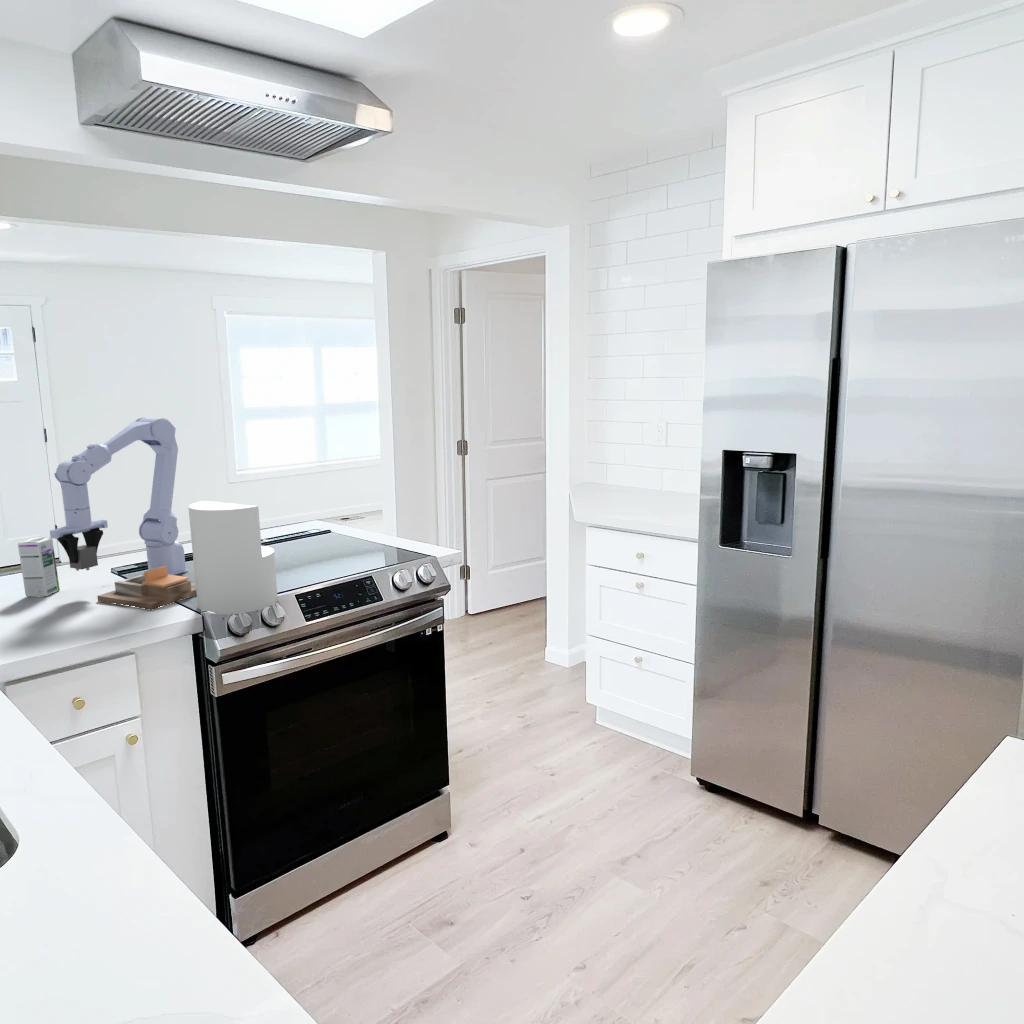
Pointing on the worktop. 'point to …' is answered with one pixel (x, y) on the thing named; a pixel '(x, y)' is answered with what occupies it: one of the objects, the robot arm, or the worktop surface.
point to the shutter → (161, 577)
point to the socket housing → (147, 593)
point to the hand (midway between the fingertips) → (83, 560)
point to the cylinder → (231, 558)
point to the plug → (85, 558)
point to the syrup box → (38, 566)
